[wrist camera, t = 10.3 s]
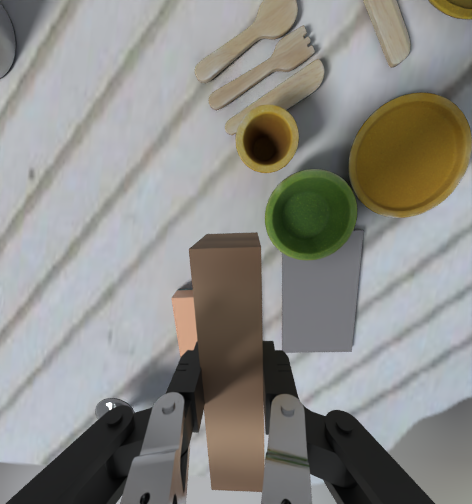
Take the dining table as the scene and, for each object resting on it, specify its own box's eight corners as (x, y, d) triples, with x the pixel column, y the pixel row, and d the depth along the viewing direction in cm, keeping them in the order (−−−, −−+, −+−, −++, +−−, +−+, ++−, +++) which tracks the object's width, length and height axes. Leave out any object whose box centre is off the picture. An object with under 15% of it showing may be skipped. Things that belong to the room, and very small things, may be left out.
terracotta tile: (171, 298, 29) (182, 372, 32) (246, 295, 29) (250, 370, 32) (178, 288, 32) (188, 357, 35) (246, 285, 31) (250, 355, 35)
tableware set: (594, -239, 18) (778, -470, 12) (645, 95, 23) (792, 58, 17) (176, 67, 24) (152, 22, 18) (289, 275, 29) (301, 295, 23)
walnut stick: (206, 234, 13) (188, 249, 9) (257, 232, 13) (260, 247, 9) (220, 420, 16) (211, 489, 12) (261, 421, 16) (264, 492, 12)
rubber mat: (282, 232, 29) (283, 233, 28) (360, 229, 28) (363, 230, 27) (282, 348, 33) (282, 352, 33) (349, 347, 33) (351, 351, 32)
